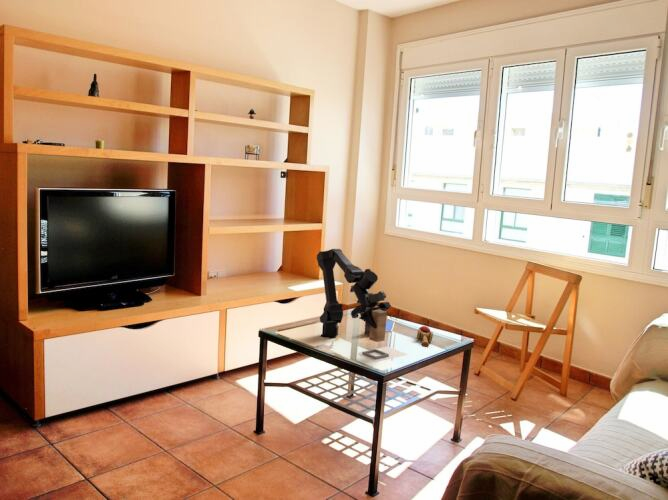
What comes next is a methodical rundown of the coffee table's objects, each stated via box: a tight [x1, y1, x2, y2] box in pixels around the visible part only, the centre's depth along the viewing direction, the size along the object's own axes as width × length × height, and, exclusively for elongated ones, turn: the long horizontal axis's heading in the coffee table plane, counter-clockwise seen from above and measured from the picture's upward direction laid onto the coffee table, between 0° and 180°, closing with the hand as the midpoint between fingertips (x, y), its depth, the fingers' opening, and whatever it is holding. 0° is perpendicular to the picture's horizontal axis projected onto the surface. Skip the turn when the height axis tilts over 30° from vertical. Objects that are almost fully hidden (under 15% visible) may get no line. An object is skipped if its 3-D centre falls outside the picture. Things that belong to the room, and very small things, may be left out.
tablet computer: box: [385, 320, 396, 333], centre depth 286 cm, size 19×13×1 cm, turn 169°
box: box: [364, 321, 370, 336], centre depth 271 cm, size 6×6×7 cm
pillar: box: [368, 310, 388, 343], centre depth 234 cm, size 4×4×12 cm
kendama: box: [416, 325, 434, 348], centre depth 263 cm, size 8×6×18 cm
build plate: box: [355, 346, 408, 363], centre depth 238 cm, size 12×19×2 cm, turn 132°
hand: (380, 327), depth 233 cm, fingers closed on pillar, 4 cm apart
